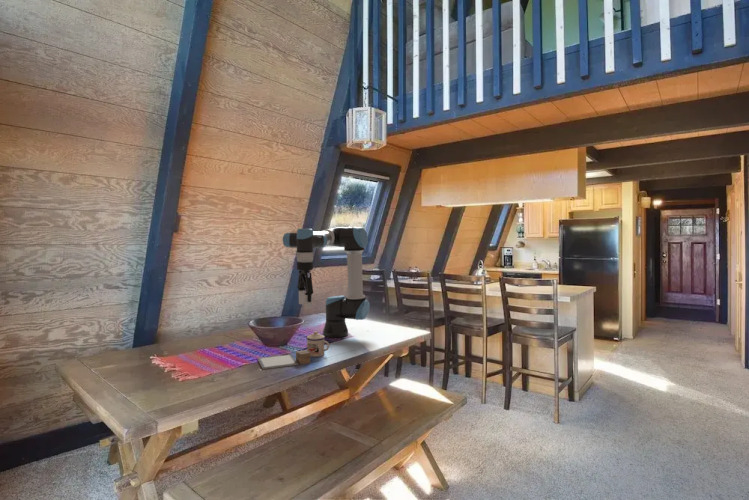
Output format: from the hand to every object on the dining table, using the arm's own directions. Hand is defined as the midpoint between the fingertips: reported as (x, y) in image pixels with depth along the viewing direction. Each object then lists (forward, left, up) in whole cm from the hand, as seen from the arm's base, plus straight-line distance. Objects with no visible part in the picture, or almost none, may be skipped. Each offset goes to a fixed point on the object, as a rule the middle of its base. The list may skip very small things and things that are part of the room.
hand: (305, 306), depth 195 cm
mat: (-4, -12, -26) cm, 29 cm away
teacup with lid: (-8, +9, -27) cm, 29 cm away
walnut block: (+1, -1, -27) cm, 27 cm away
